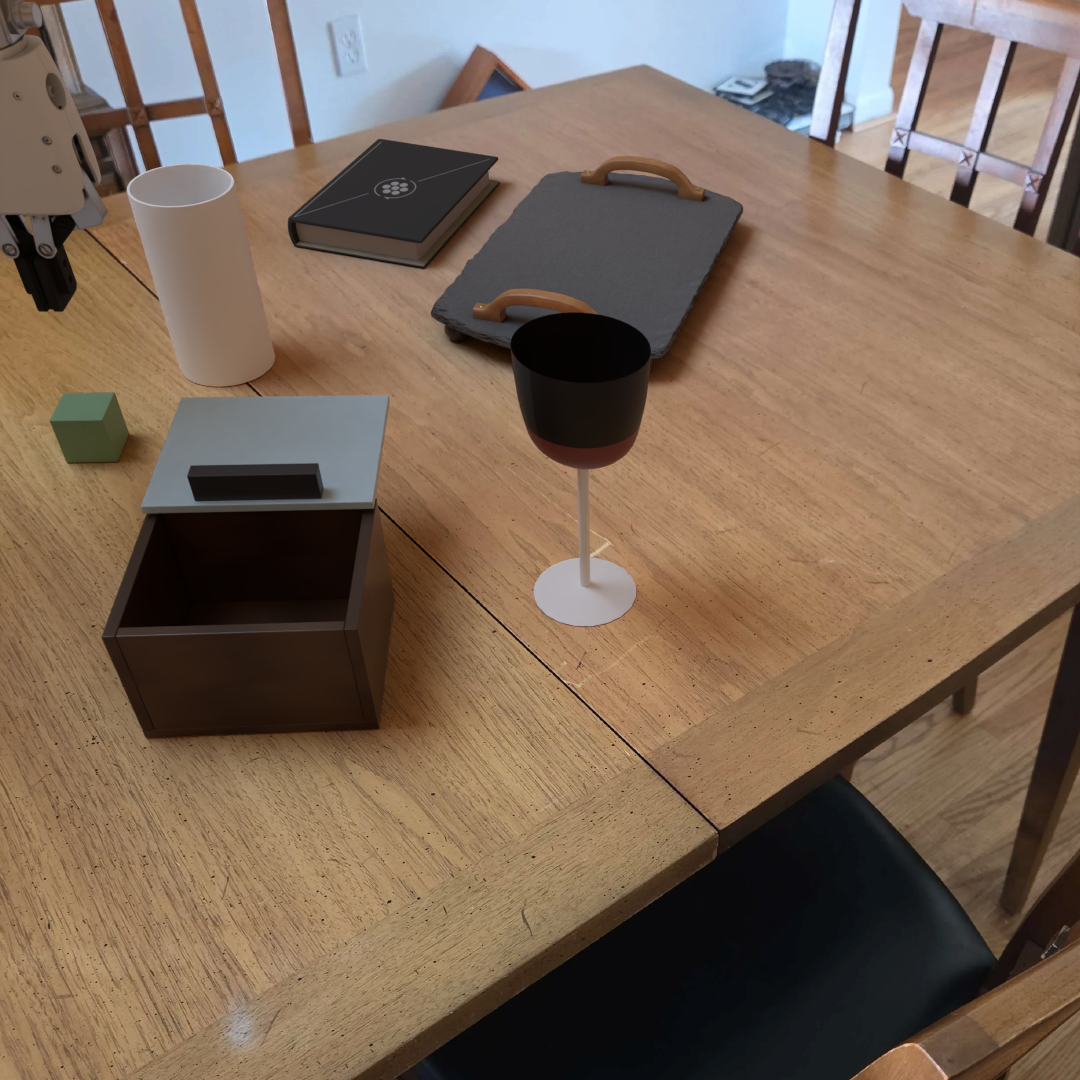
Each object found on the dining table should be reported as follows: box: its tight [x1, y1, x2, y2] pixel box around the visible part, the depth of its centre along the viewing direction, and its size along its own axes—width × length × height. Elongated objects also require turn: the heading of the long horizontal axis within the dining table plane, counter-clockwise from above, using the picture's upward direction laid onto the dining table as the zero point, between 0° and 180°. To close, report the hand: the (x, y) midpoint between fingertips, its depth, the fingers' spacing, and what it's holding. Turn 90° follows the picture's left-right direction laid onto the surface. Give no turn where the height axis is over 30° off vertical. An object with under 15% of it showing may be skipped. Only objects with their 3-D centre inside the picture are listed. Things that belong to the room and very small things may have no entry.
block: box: [49, 391, 130, 464], centre depth 93 cm, size 4×4×4 cm
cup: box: [126, 163, 276, 388], centre depth 98 cm, size 8×8×16 cm
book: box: [287, 138, 501, 269], centre depth 125 cm, size 22×15×3 cm
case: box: [101, 497, 396, 739], centre depth 75 cm, size 15×13×9 cm
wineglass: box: [510, 312, 651, 627], centre depth 78 cm, size 8×9×20 cm
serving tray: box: [430, 155, 744, 371], centre depth 115 cm, size 39×23×6 cm, turn 165°
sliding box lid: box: [140, 394, 391, 515], centre depth 78 cm, size 15×13×3 cm
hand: (57, 301), depth 83 cm, fingers closed
